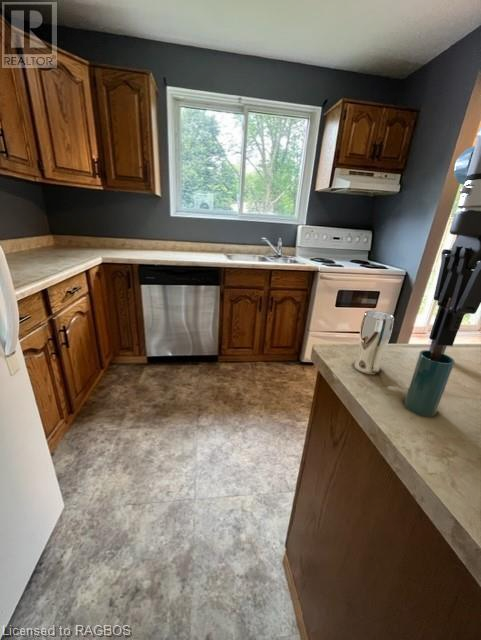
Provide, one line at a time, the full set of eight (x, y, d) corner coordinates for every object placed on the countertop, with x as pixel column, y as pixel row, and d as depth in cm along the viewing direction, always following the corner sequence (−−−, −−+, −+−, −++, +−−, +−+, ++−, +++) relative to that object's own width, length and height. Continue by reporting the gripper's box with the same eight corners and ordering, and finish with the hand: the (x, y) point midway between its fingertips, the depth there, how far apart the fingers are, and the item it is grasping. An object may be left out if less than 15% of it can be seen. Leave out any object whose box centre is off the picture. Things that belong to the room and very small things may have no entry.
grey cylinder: (438, 355, 81) (445, 333, 78) (444, 361, 77) (452, 338, 75) (425, 353, 81) (431, 332, 79) (430, 359, 78) (438, 337, 75)
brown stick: (426, 389, 57) (457, 297, 50) (431, 394, 55) (463, 300, 48) (416, 387, 57) (445, 296, 50) (420, 393, 55) (451, 299, 48)
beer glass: (356, 359, 76) (367, 308, 70) (383, 367, 72) (397, 314, 67) (349, 369, 70) (361, 315, 65) (378, 378, 67) (393, 322, 61)
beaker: (427, 401, 59) (444, 352, 55) (441, 418, 54) (461, 365, 50) (400, 397, 60) (415, 348, 56) (411, 414, 55) (428, 362, 50)
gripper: (436, 211, 51) (404, 326, 60) (489, 207, 38) (438, 357, 46) (480, 213, 50) (441, 329, 59) (551, 210, 37) (487, 362, 45)
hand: (440, 341), depth 52 cm, fingers closed on brown stick, 2 cm apart
